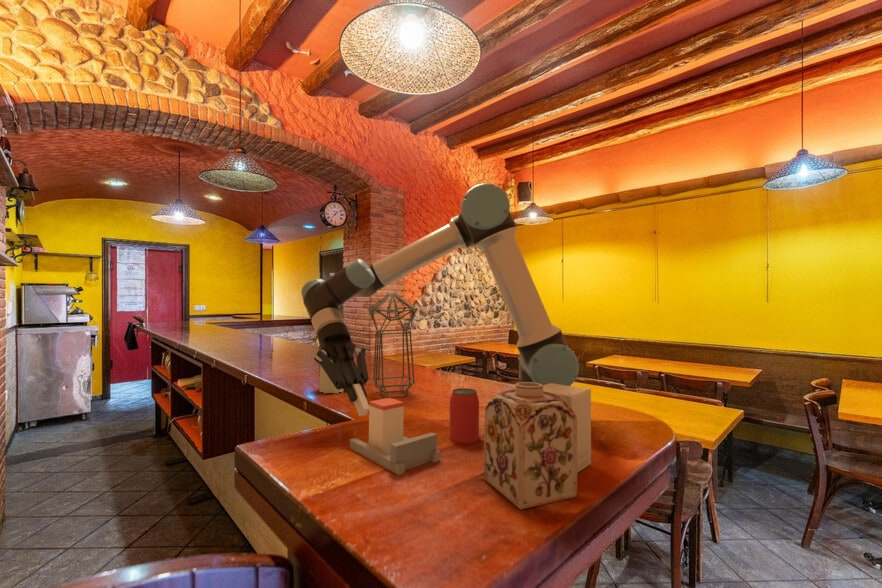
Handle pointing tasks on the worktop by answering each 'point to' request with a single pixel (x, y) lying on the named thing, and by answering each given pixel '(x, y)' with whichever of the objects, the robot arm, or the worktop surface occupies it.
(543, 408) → the decorative jar
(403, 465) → the grey tray
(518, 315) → the robot arm
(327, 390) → the can
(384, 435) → the block
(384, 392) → the geometric lantern
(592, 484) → the worktop surface
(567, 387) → the supplement box
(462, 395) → the beer can
